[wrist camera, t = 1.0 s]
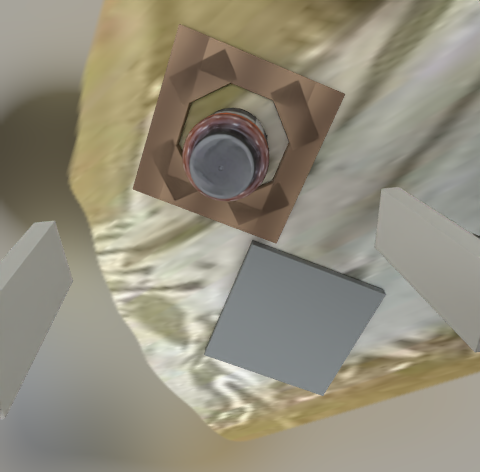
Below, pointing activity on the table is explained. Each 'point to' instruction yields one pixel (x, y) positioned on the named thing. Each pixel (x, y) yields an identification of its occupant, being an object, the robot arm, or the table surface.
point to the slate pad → (291, 319)
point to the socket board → (253, 79)
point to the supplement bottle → (226, 155)
